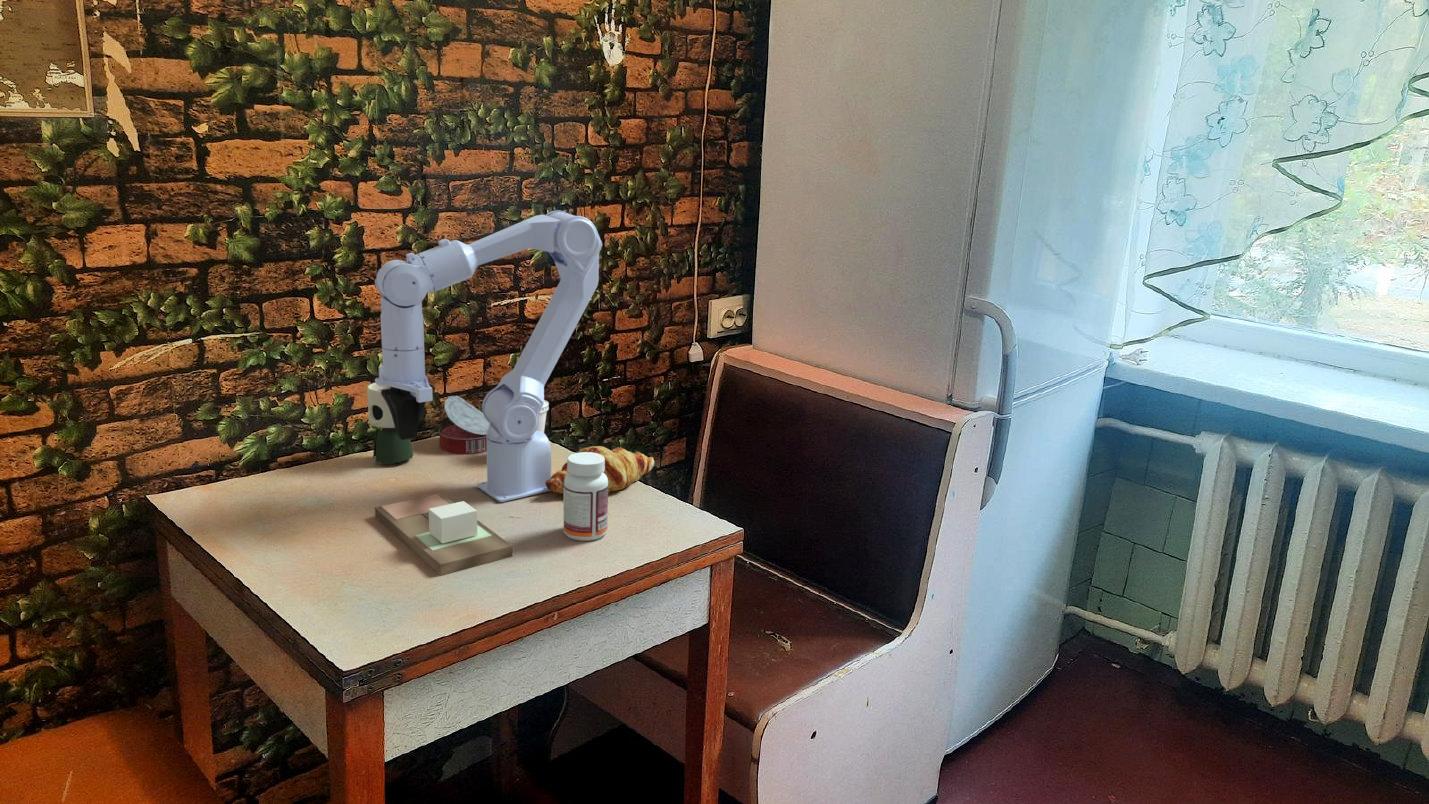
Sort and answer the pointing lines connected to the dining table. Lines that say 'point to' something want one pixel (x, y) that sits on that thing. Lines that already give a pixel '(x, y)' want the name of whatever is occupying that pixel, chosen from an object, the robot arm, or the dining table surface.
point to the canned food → (463, 428)
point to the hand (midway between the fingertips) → (406, 437)
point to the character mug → (385, 429)
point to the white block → (452, 522)
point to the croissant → (610, 468)
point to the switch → (444, 558)
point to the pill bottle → (585, 497)
